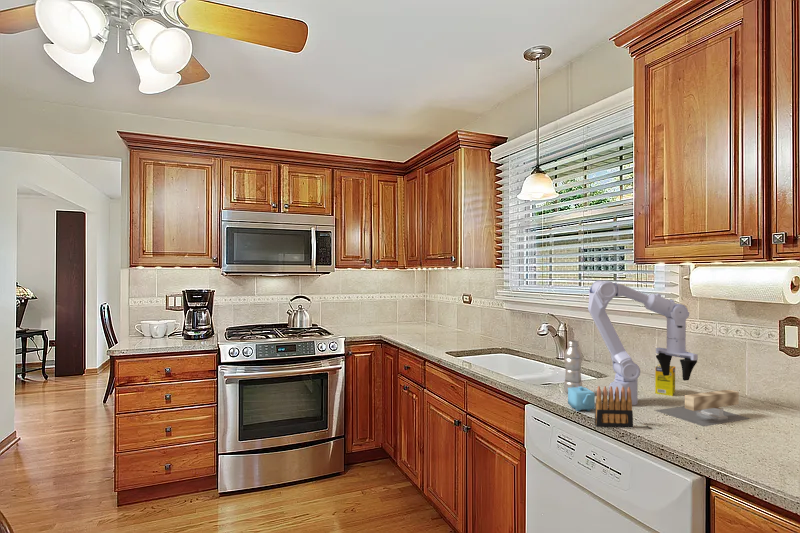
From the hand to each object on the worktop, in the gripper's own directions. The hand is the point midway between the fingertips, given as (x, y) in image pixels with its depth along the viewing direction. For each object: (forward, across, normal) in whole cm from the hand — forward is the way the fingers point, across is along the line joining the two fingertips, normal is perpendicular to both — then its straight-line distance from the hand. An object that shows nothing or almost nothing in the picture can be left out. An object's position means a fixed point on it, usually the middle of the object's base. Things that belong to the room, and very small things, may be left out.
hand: (675, 377), depth 166 cm
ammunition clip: (+10, -8, +36) cm, 38 cm away
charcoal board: (+10, -11, +3) cm, 15 cm away
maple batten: (+5, -15, +3) cm, 16 cm away
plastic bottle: (+10, +26, +22) cm, 35 cm away
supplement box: (+10, +12, -9) cm, 18 cm away
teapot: (+10, +8, +33) cm, 36 cm away
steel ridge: (+9, -15, +3) cm, 18 cm away
